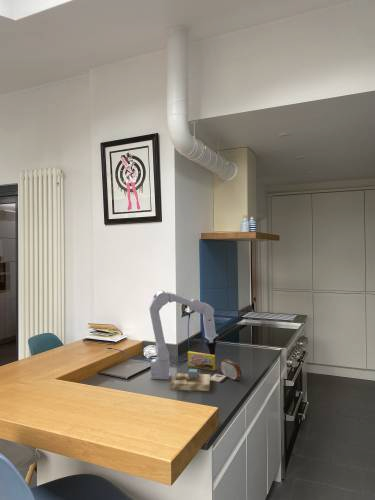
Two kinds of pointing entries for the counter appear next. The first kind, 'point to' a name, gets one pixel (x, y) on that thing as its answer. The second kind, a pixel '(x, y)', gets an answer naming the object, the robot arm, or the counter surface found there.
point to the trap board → (191, 382)
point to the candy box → (201, 360)
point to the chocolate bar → (218, 376)
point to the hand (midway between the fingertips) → (212, 352)
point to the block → (192, 373)
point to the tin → (231, 369)
